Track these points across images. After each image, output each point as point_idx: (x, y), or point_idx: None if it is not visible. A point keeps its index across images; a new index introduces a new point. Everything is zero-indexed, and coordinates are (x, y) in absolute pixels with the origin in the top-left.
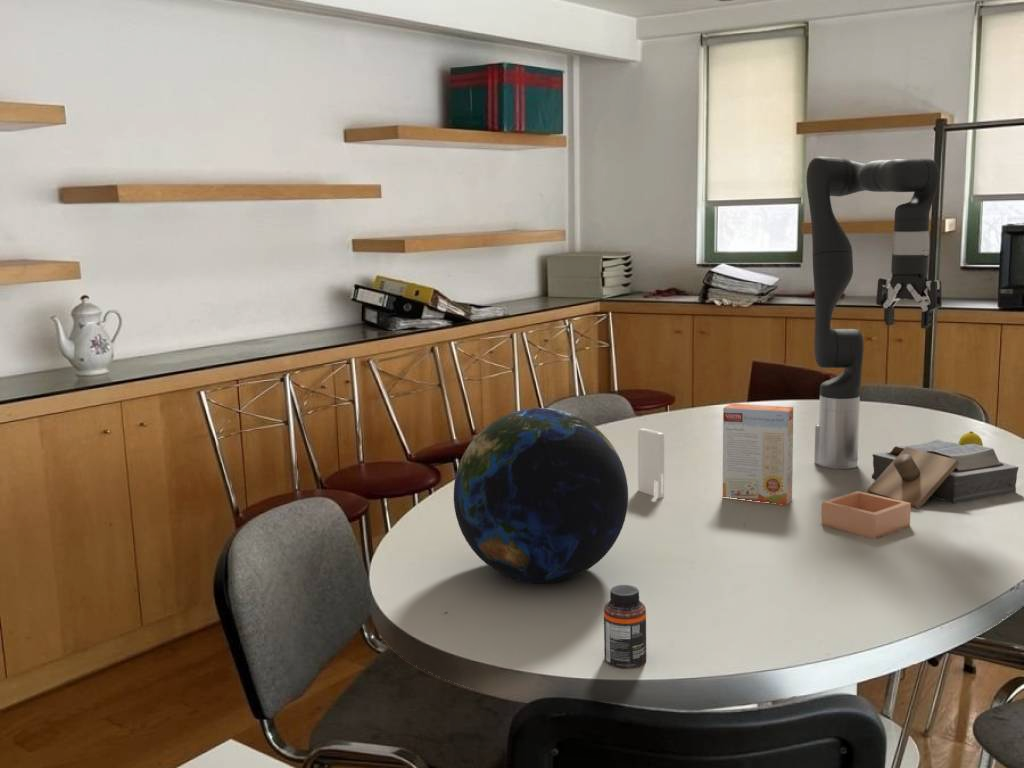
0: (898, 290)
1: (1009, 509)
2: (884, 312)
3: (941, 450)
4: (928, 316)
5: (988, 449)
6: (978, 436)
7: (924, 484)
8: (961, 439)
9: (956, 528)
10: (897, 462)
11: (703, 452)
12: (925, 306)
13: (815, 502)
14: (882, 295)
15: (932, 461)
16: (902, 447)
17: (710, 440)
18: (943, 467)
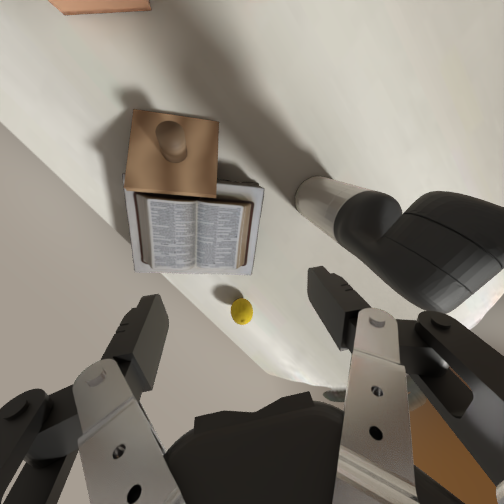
0: (339, 475)
1: (93, 202)
2: (362, 299)
3: (172, 211)
4: (109, 345)
5: (152, 262)
6: (236, 321)
7: (144, 141)
8: (247, 309)
9: (41, 73)
10: (175, 128)
11: (460, 117)
12: (87, 390)
13: (226, 17)
14: (466, 378)
15: (159, 177)
16: (233, 207)
17: (472, 171)
18: (135, 171)
